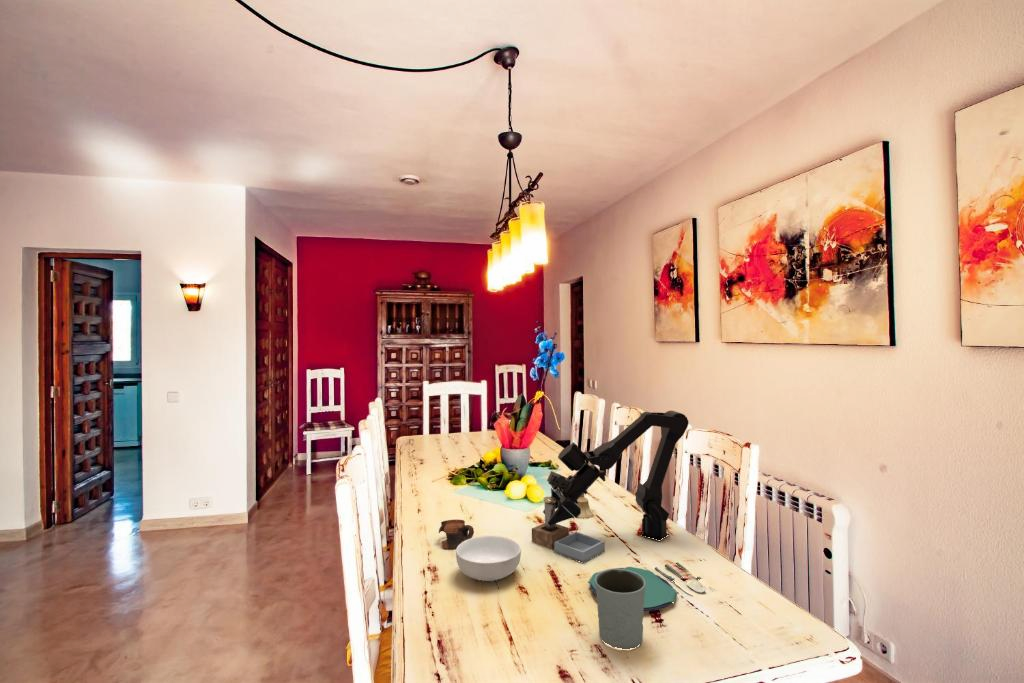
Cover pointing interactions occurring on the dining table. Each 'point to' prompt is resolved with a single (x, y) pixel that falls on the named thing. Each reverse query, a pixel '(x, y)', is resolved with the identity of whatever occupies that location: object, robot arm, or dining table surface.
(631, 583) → the grey cylindrical pot
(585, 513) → the hand bell
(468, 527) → the brown clay jug
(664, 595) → the cutlery set
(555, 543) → the slate tray
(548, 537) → the walnut block
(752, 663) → the dining table surface
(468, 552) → the cereal bowl
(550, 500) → the pin
